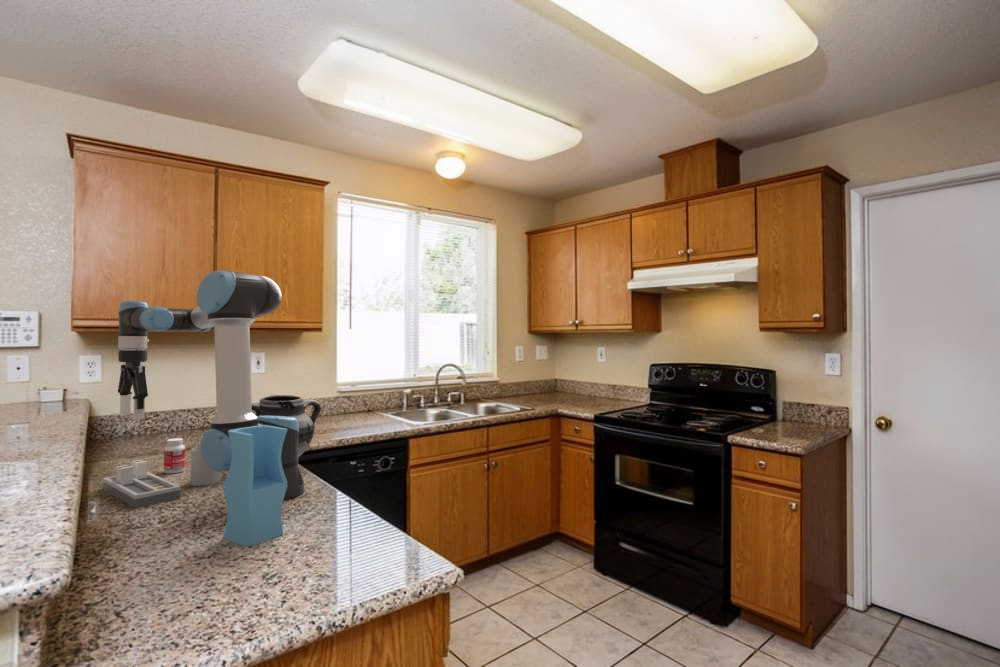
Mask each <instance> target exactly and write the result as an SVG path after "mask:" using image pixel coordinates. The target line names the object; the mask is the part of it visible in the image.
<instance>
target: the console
mask: <svg viewBox="0 0 1000 667" xmlns="http://www.w3.org/2000/svg"><path fill="white" fill-rule="evenodd" d="M102 490H104V491H105V492H107V493H109V494H110V495H112V496H114V497H115V498H117V499H118V500H120V501H122V502H124V503H126V504H128V505H129V506H131V507H133V508H134V509H138V508H143V507H146V506H151V505H152V506H153V505H157V504H160V503H165V502H169V501H173V500H177V499H181V486H180V485H178V484H176V483H174V482H172V481H169V480H167V479H166V478H162V477H160V476H158V475H156V474H154V473H151V472H149V471H147V478H143V479H136V478H134V477H133V484H129V485H123V486H122V485H121V484H119V483H117V482H116V475H113V476H112V475H111V476H107V477H103V478H102Z"/></svg>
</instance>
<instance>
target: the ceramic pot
mask: <svg viewBox="0 0 1000 667" xmlns="http://www.w3.org/2000/svg"><path fill="white" fill-rule="evenodd" d="M308 406H313V411H312V413H311V415H310V416H309V415H308V414H307V412H306V408H308ZM321 409H322V406H321V404H320V402H319V401H318V400H315V399H312V398H311V399H310V398H309V399H305V400H304V399H303V397H302V396H298V395H292V394H291V395H290V394H274V395H266V396H262V397H261V398H260V399H259V402H258V403H253V402H252V411H254V413H255V415H256V416H257V417H258V416H287V417H294V418H296V419H297V420H298V424H299V450H298V458H300V457H301V456H302V455H303V454H304V453H305V452H306V451H307V449H308V447H309V445H310V444H311V441H312V440H313V438H314V434H315V429H316V427H315V425H316V420H317V419H318V417H319V414H320V413H321Z"/></svg>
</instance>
